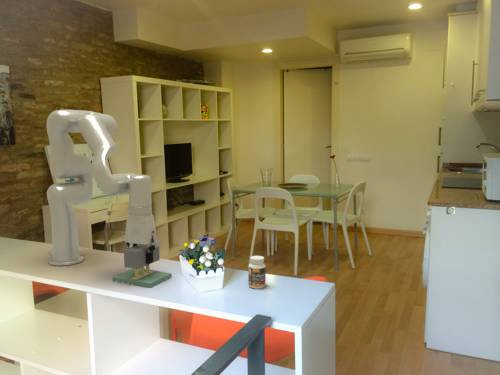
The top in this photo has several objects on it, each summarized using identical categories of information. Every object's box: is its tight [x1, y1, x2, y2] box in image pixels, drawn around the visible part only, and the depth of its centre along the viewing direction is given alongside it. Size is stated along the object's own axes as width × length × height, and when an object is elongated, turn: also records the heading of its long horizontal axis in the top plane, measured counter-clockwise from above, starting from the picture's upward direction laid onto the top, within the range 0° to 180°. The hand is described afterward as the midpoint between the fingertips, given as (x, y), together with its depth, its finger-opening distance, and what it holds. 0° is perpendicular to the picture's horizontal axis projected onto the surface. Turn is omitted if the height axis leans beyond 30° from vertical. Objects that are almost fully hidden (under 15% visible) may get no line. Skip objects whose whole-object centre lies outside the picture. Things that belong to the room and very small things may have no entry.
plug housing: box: [123, 243, 160, 269], centre depth 154 cm, size 12×6×6 cm, turn 155°
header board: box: [112, 264, 172, 289], centre depth 154 cm, size 16×12×5 cm
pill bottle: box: [247, 255, 267, 290], centre depth 147 cm, size 6×6×10 cm
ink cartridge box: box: [190, 233, 217, 252], centre depth 162 cm, size 10×6×14 cm, turn 155°
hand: (142, 261), depth 154 cm, fingers closed on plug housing, 5 cm apart
